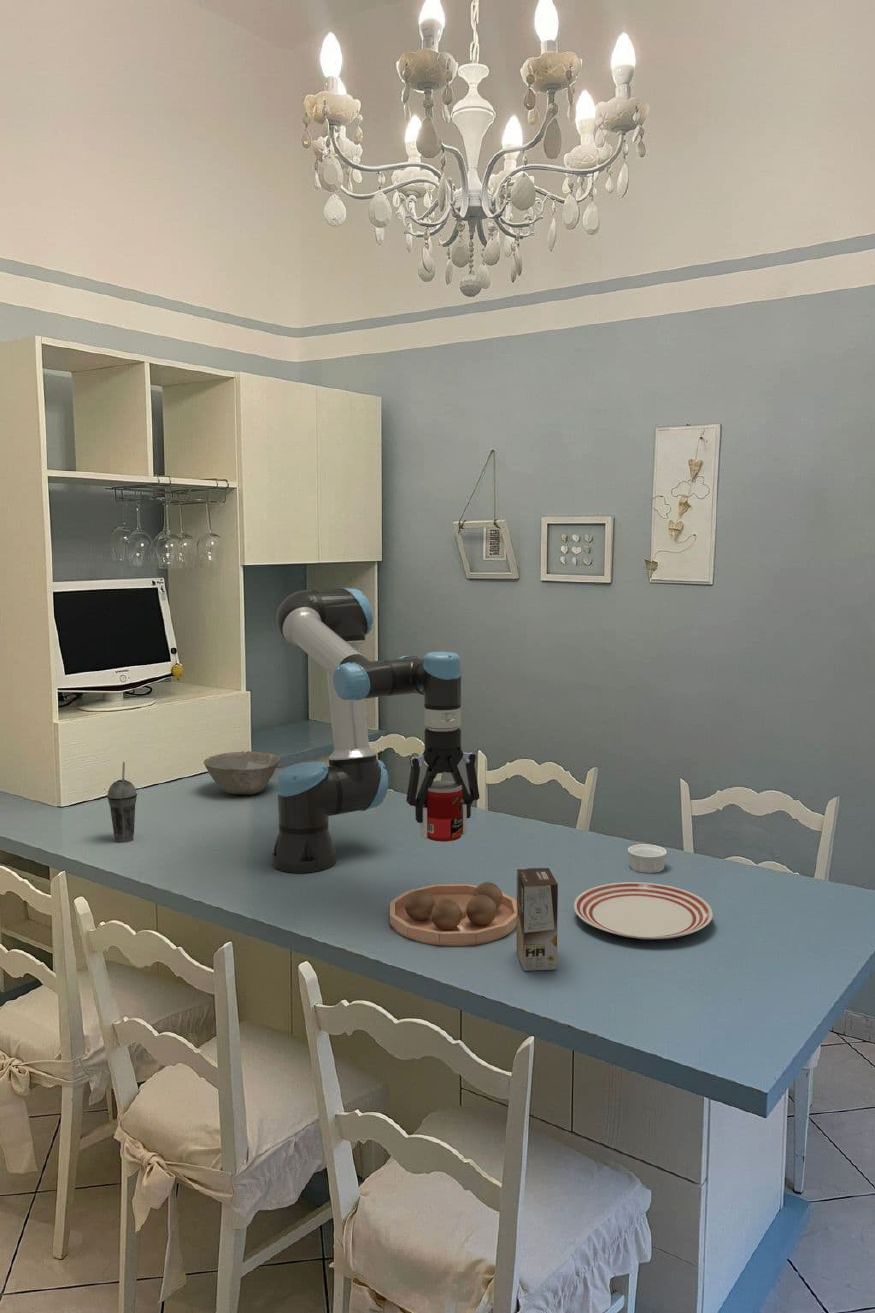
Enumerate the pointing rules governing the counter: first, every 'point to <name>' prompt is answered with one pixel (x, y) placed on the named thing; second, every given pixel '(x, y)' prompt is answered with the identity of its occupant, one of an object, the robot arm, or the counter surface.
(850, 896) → the counter surface
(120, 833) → the beverage cup
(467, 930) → the tray
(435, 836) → the canned food
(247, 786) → the ceramic bowl
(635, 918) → the dinner plate
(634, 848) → the ramekin
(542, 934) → the coffee box
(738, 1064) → the counter surface
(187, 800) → the counter surface
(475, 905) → the seated beads
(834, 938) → the counter surface
